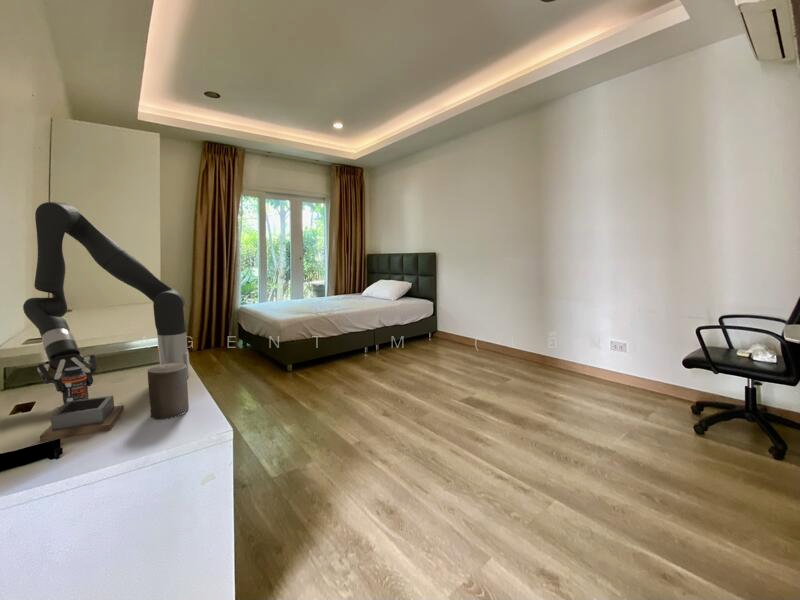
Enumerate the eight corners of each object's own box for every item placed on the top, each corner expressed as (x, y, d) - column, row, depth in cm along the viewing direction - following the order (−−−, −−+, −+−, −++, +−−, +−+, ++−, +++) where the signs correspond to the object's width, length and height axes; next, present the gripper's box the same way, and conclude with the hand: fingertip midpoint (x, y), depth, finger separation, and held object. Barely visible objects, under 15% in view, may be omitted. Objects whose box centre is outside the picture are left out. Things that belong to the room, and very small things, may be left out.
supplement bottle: (73, 407, 109) (69, 371, 108) (58, 406, 110) (54, 370, 109) (94, 399, 115) (90, 366, 114) (79, 398, 116) (75, 364, 115)
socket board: (124, 409, 107) (123, 405, 107) (110, 429, 95) (109, 424, 95) (63, 418, 101) (63, 413, 101) (40, 441, 89) (39, 436, 89)
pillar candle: (148, 422, 99) (144, 370, 98) (153, 409, 108) (149, 360, 106) (188, 415, 104) (185, 365, 102) (190, 403, 112) (187, 357, 111)
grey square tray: (114, 408, 105) (113, 395, 104) (103, 423, 96) (101, 408, 95) (68, 415, 100) (67, 401, 100) (52, 431, 91) (50, 416, 91)
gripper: (30, 343, 109) (46, 388, 103) (90, 334, 120) (107, 374, 115) (28, 357, 112) (43, 402, 107) (86, 347, 124) (103, 387, 119)
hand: (76, 387), depth 111 cm, fingers closed on supplement bottle, 6 cm apart
